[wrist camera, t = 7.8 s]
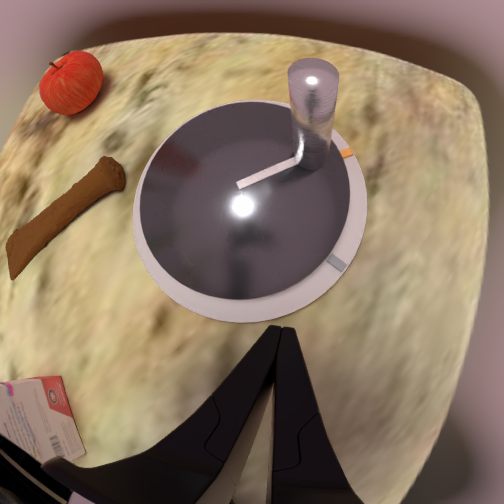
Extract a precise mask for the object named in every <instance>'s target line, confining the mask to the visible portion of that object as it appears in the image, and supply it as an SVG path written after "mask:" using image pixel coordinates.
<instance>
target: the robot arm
mask: <svg viewBox="0 0 504 504" xmlns="http://www.w3.org/2000/svg"><path fill="white" fill-rule="evenodd" d="M273 384H274V387H273ZM272 388H273V403H272V421H271V438H270V454H269V468H268V482H267V495H266V504H364V503H363V501H362V500H361V499H360V498H359V497H358V496H357V495H356V494H355V492H354V491H353V489H352V488H351V486H350V484H349V482H348V480H347V478H346V476H345V474H344V472H343V470H342V468H341V466H340V463H339V461H338V459H337V457H336V455H335V452H334V450H333V448H332V446H331V443H330V441H329V438H328V436H327V433H326V430H325V427H324V424H323V421H322V417H321V414H320V412H319V407H318V404H317V401H316V397H315V394H314V390H313V387H312V384H311V380H310V377H309V374H308V370H307V367H306V364H305V360H304V357H303V354H302V350H301V347H300V344H299V340H298V337H297V334H296V331H295V329H294V328H291V327H283V328H282V327H281V326H276V325H270V326H269V327H268V328H267V329H266V330H265V332H264V333H263V334H262V335H261V336H260V338H259V339H258V340H257V341H256V343H255V344H254V345H253V346H252V347H251V349H250V350H249V351H248V352H247V353H246V355H245V356H244V357H243V358H242V359H241V361H240V362H239V363H238V364H237V365H236V366H235V368H234V369H233V370H232V371H231V372H230V373H229V375H228V376H227V377H226V378H225V379H224V380H223V382H222V383H221V384H220V385H219V386H218V387H217V388H216V390H215V391H214V392H213V393H212V395H210V396H209V397H208V398H207V400H206V401H205V402H204V403H203V404H202V405H201V406H200V407H199V408H198V409H197V410H196V411H195V412H194V413H193V414H192V415H191V416H190V417H189V418H188V419H186V420H185V421H184V422H183V423H182V424H181V425H179V426H178V427H177V428H176V429H175V430H173V431H172V432H171V433H170V434H168V435H167V436H166V437H165V438H163V439H162V440H161V441H159V442H158V443H157V444H156V445H154V446H153V447H151V448H150V449H148V450H146V451H144V452H142V453H140V454H137V455H134V456H131V457H128V458H125V459H122V460H119V461H115V462H112V463H109V464H105V465H102V466H98V467H93V468H83V467H79V466H77V465H75V464H73V463H72V462H70V461H68V460H67V459H65V458H63V457H62V456H60V455H58V456H56V457H53V458H51V459H49V460H47V461H46V462H44V463H43V464H42V463H41V462H40V461H38V460H37V459H36V458H34V457H33V456H32V455H30V454H29V453H28V452H26V451H25V450H24V449H22V448H21V447H20V446H18V445H17V444H16V443H14V442H13V441H11V440H10V439H8V438H7V437H6V436H4V435H3V434H2V433H0V504H234V503H233V501H232V496H233V494H234V491H235V489H236V488H235V487H236V486H237V484H238V481H239V479H240V476H241V474H242V471H243V469H244V466H245V464H246V461H247V458H248V456H249V453H250V450H251V448H252V445H253V442H254V440H255V437H256V434H257V431H258V429H259V426H260V423H261V420H262V417H263V414H264V412H265V409H266V406H267V403H268V400H269V397H270V394H271V391H272Z"/></svg>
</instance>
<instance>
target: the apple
mask: <svg viewBox="0 0 504 504" xmlns="http://www.w3.org/2000/svg"><path fill="white" fill-rule="evenodd" d="M49 64H50V65H52V67H51V68H50V69H49V70H48V71H47V73H46V74H45V75H44V77H43V78H42V80H41V82H40V85H39V93H40V97H41V99H42V100H43V102H44V103H45V105H46V106H47V107H48V108H49V109H50V110H52V111H53V112H55V113H58V114H62V115H71V114H75V113H78V112H80V111H82V110H83V109H85V108H86V107H87V106H88V105H90V104H91V103H92V102H93V101H94V99H95V98H96V96H97V94H98V93H99V91H100V89H101V86H102V82H103V71H102V67H101V65H100V63H99V61H98V60H97V59H96V58H95V57H94V56H93V55H92V54H90V53H87V52H84V51H75V52H72V53H69V54H67V55H66V56H64V57H63V58H62V59H61V60H59V61H58V62H57V63H56V64H54V63H52V62H50V63H49Z"/></svg>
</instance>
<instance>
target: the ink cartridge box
mask: <svg viewBox="0 0 504 504" xmlns="http://www.w3.org/2000/svg"><path fill="white" fill-rule="evenodd" d="M0 433H2V434H3V435H4V436H6V437H7V438H8V439H10V440H11V441H13V442H14V443H16V444H17V445H18V446H20V447H21V448H22V449H24V450H25V451H26V452H28V453H29V454H30V455H32V456H33V457H34V458H36V459H37V460H38V461H40V462H41V463H42V464H43V463H44V462H46V461H47V460H49V459H51V458H53V457H56V456H58V455H60V456H62V457H63V458H65V459H67V460H68V461H70V462H71V461H73V460H75V459H77V458H79V457H81V456H83V455H84V454H85V449H84V447H83V444H82V442H81V439H80V436H79V434H78V431H77V428H76V425H75V422H74V420H73V416H72V414H71V410H70V407H69V404H68V401H67V397H66V394H65V390H64V387H63V383H62V380H61V377H60V376H51V377H34V378H27V379H21V380H14V381H7V382H1V383H0Z"/></svg>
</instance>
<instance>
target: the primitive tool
mask: <svg viewBox="0 0 504 504" xmlns="http://www.w3.org/2000/svg"><path fill="white" fill-rule="evenodd" d="M124 185H125V178H124V172H123V170H122V166H121V165H120V164H119V163H118V162H116V161H115V160H114V159H113V158H112V157H106V156H103V157H101V158H100V160H99V162H98V163H97V164H96V165H95V167H94V168H93V169H92V170H91V171H90V172H89V173H88V174H87V175H86V176H84V177H83V178H82V179H81V180H80V181H79V182H78V183H75V184H74V185H73V186H72V188H71V189H70V190H69V191H68V192H66V193H65V194H63V195H62V196H61V197H60V198H58V199H57V200H55V201H54V202H53V203H52V204H51V205H50V206H49V207H47V208H46V209H45V210H43V211H42V212H41V213H40V214H39V215H38V216H36V217H35V218H34V219H32V220H31V221H30V222H29V223H27V224H26V225H24V226H23V227H22V228H21V229H19V230H18V229H16V230H15V231H14V232H13V234H12V235H11V236H10V237H9V239H8V241H7V243H6V252H7V257H8V266H9V272H10V278H11V280H14V279H15V278H16V277H17V276H18V275H19V274H20V273H21V272H22V271H23V269H24V268H25V267H26V266H27V265H28V263H29V262H30V261H31V260H32V259H33V258H34V256H35V255H36V254H37V253H38V252H39V251H40V250H41V249H42V248H44V246H45V245H46V244H47V243H48V242H49V241H50V240H51V239H52V238H54V237H55V235H56V234H58V233H59V232H60V231H61V230H62V229H63V228H64V227H65V226H66V225H68V224H69V223H70V221H72V220H73V219H74V218H75V217H76V216H77V214H79V213H80V212H81V211H82V210H84V209H85V208H86V207H87V206H89V205H90V204H91V203H93V202H94V201H96V200H97V199H98V198H99V197H101V196H103V195H104V194H106V193H108V192H110V191H112V190H121V189H123V188H124Z"/></svg>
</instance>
